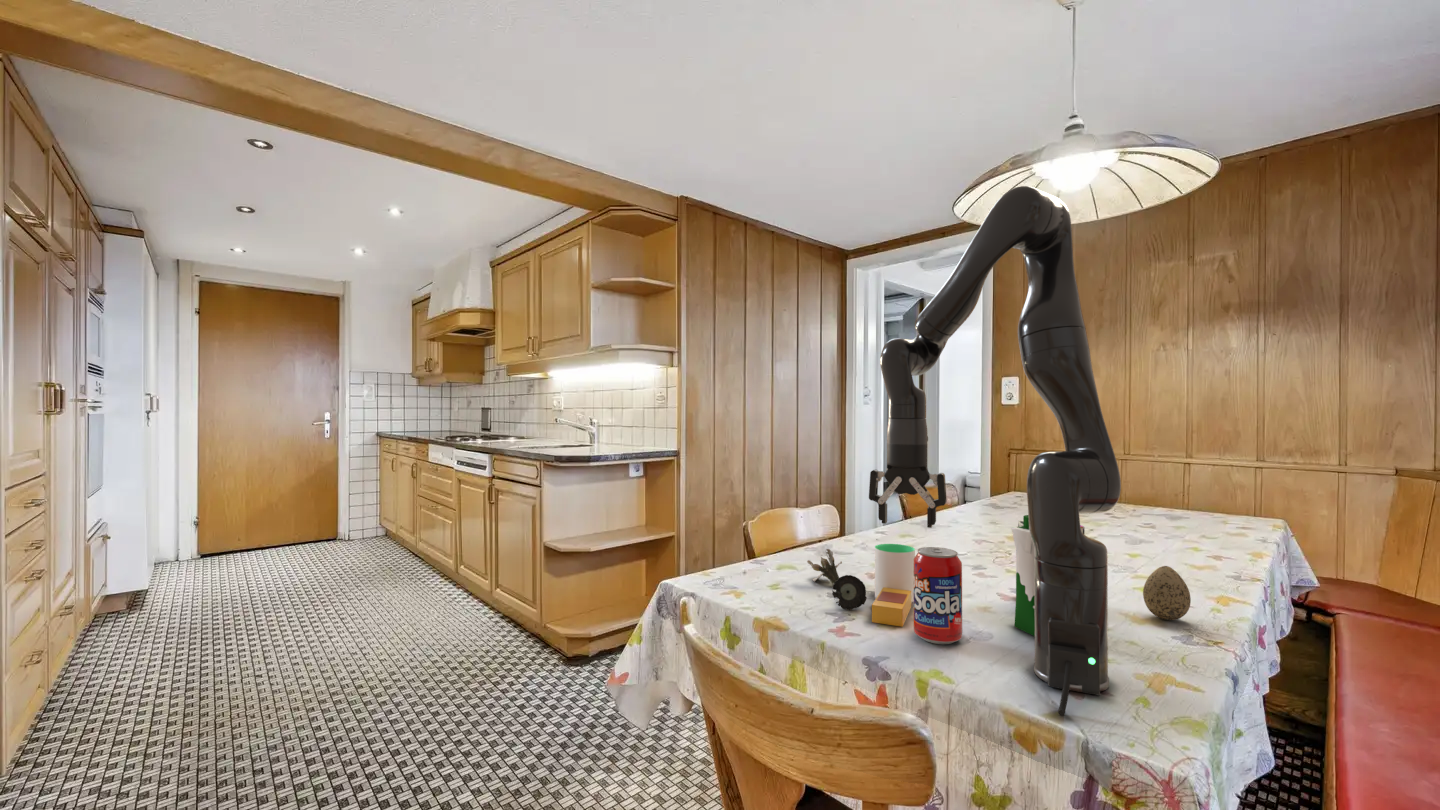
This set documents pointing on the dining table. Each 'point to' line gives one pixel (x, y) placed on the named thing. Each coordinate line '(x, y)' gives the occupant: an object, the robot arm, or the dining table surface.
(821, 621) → the dining table surface
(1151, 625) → the dining table surface
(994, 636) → the dining table surface
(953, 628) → the soda can
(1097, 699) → the dining table surface
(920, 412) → the robot arm
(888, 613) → the tea packet
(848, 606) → the dark long pronged piece
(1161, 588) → the decorative egg
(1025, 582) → the milk carton
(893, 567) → the mug
